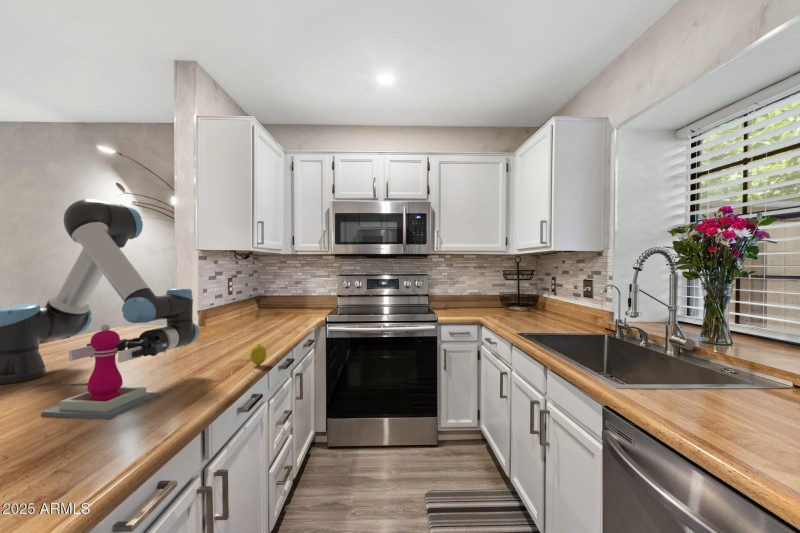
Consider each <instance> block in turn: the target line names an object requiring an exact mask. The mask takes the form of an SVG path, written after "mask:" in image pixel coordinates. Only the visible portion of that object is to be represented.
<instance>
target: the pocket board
mask: <svg viewBox="0 0 800 533" xmlns="http://www.w3.org/2000/svg"><path fill="white" fill-rule="evenodd" d="M118 391H119V392H120V396H119V397H116V398H113V399H111V400H108V401H90V397H91V396H92V394H91V393H90V392H89V391H88V390H87V391H86V392H82V393H79V394H78V395H74V396H70V397H68V398H66V399H62V400H59V405H56V406H54V407H53V406H52V407H51V408H48V409H45V410H42V411H41V415H40V416H42V417H55V418H59V417H60V418H75V419H76V418H78V419H92V418H93V419H95V420H97V419H98V420H99V419H100V420H112V419H114V418H117V417H118V415H119V416H120V415H123V414H125V413H127V412H129V411H131V410H134V409H136V408H138V407H140V405H141V406H142V404H143V405H144V403H145V404H146V403H149V402H152V401H153V400H155V399H158V398H160V397H161V392H151V391H150V392H148V391H147V387H145V386H127V385H126V386H124V385H122V386H121V387H120V388H119V390H118ZM111 418H112V419H111Z"/></svg>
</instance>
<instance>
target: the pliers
mask: <svg viewBox="0 0 800 533" xmlns="http://www.w3.org/2000/svg"><path fill="white" fill-rule="evenodd" d="M60 383H62V384H61V385H64V384H65V386H87V384H88V382H86V383H85V382H84V383H71V382H70V383H69V382H64V381H61V382H60Z"/></svg>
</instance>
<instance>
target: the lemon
mask: <svg viewBox="0 0 800 533" xmlns="http://www.w3.org/2000/svg"><path fill="white" fill-rule="evenodd" d="M250 360H251V362H252V363H253V364H255V365H256V366H257V367H260V365H262V364H263V363H264V362H265V361H266V360H267V349H266V348H265V347H264V345H261V344H260V343H259V344H256V345H255V346H253V347H252V349H251V351H250Z"/></svg>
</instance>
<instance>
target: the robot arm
mask: <svg viewBox="0 0 800 533" xmlns="http://www.w3.org/2000/svg"><path fill="white" fill-rule="evenodd" d="M143 223H144V221H143V220H142V216H141V215H140V213H139V212H138V210H137V209H135V208H133V207H130V206H127V205H125V204H122V203H121V204H119V203H118V204H117V203H114V202H113V203H112V202H107V201H102V200H98V199H92V198H86V199H85V198H84V199H80V200H77V201H74V202H73V203H72V204H70V205H69V206H68V207H67V208H66V210H65V212H64V214H63V226H64V229H65V230H66V231H65V232H66V233H67V234H68V236H69V237H70V238H71V241H73V242H74V243H76V244H80V245H81V246H82V249H81V252H80V253H79V255H78V257H77V259H76V261H75V262H74V264H73V266H72V268H71V270H70V272H69V273H68V275H67V277H66V279H65V281H64V283H63V285H62V287H61V288H60V290H59V292H58V293H57V294H55V295H53V296H51V297H49V299H48V301H47V303H46V304H45V306H40V304H38V303H21V304H12V305H7V306H1V307H0V385H6V384H14V383H15V384H16V383H20V382H25V381H31V380H34V379H37V378H41V377H43V376H45V375H46V373H47V368H46V365H45V363H44V360H43V357H42V355H41V353H40V342H44V341H51V340H57V339H63V338H65V339H66V338H70V337H74V336H79V335H81V334H82V333H84V332H85V331H86V330H87V329H88V328H89V326H90V325H91V323H92V317H91V316H92V314H93V313H92V311H91V306H90V304H89V303H88V302H89V301H90V298H91V297H92V295H93V293H94V291H95V290H96V287H97V286H98V284H99V283H100V280H101V279H102V277H103V275H104V278H106V280H107V281H108V282H109V284H110V285H111V287H112V288H113V289H114V290H115V292H116V293H117V295H118V296H119V297H120V298H121V299H122V301H123V305H122V308H121V312H122V313H123V314H122V317H123V318H124V319H125V321H127V322H129V323H132V324H142V323H143V324H145V323H151V322H155V321H161V320H166V326H162V327H156V328H152V329H148V330H144V331H143V332H141V333H140V335H139V336H138V337H133V338H129V339H128V338H123V339H120V342H119V344H118V345H117V346H116V348H117V352H118V353H117V354H118V355H117V363H120V364H121V363H124V362H129V361H131V360H135V359H138V358H142V357H148V356H152V357H154V356H157V355H158V354H160V353H163V354H164V353H167V352H168V351H170V350H173V349H176V348H181V347H185V346H188V345H191V344H192V343H194V342H196V341H197V340H198V339H199V336H200V329H199V327H198V325H197V323H195V322H194V321H193V317H194V316H193V304H194V299H193V290H192V289H191V288H184V287H183V288H169V289H166V294H165V295H155V293H154V291H152V289H151V288H150V287H149V285H148V284H147V283H146V281H145V280H144V279H143V277H142V276H141V274H140V273H139V272H138V271H137V270H136V268H135V267H134V265H133V264H132V263H131V262H130V260H129V259H128V258H127V256H126V255H125V253H124V252H123V251H122V250H121V249H124V247H125V246H126V244H127V242H128V240H133V239H136V238H138V237H139V236H140V235H141V234H142V232H143V226H144V224H143ZM94 350H95V349H94V348H93V347H92V346H91V343H87V344H86V346H81V347H77V348H72V349H69V350H68V361H69V362H73V361H76V360H77V361H78V360H80V359H85V358H89V357H90V358H93V357H94V356H93V351H94Z"/></svg>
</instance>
